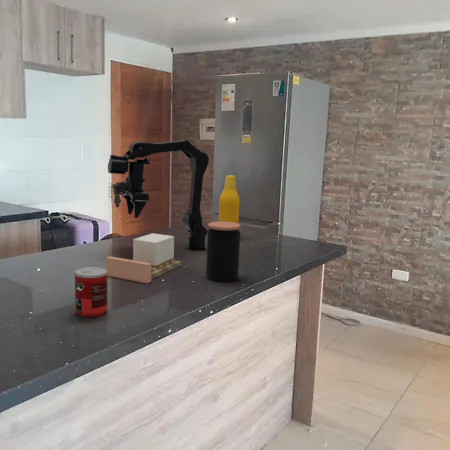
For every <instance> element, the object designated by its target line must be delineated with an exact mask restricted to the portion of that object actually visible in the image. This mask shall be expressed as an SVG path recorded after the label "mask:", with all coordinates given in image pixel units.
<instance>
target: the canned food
mask: <svg viewBox="0 0 450 450" xmlns="http://www.w3.org/2000/svg"><path fill="white" fill-rule="evenodd" d="M74 292H75V293H74V294H75V295H74V296H75V297H74V300H75V313H76V315H78V316H80V317H85V318H96V317H100V316H102V315H105V314H106V313H107V311H108V310H107V309H108V276H107V270H106V268H102V267H99V266H98V267H97V266H95V267H94V266H90V267H89V266H88V267H82V268H78V269H76V270H75V271H74Z"/></svg>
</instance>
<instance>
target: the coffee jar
mask: <svg viewBox="0 0 450 450" xmlns="http://www.w3.org/2000/svg"><path fill="white" fill-rule="evenodd" d="M241 226H242V225H241V224H240V223H238V224H237V223H233V222H219V221H212V222H209V223H208V224H207V227H208V229H207V231H208V232H207V241H206V242H207V244H206V270H205V271H206V276H207V278H208V279H209V280H211V281H214V282H220V283H222V282H226V283H227V282H233V281H235V280H236V279H237V278H238V276H239V268H240V267H239V265H240V246H241V245H240V244H241V232H240V229H241Z"/></svg>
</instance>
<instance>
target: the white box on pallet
mask: <svg viewBox="0 0 450 450" xmlns="http://www.w3.org/2000/svg"><path fill="white" fill-rule="evenodd" d="M132 241H133V243H132V246H133V247H132V250H133V251H132V252H133V253H132V260H134V261H140V262H146V263H151V265H152V266H157V265H159V264H162V263H164V262H166V261H168V260H171V259H173V260H174V257H175V254H174V253H175V236H174V235H166V234H159V233H152V232H151V233H149V234H146V235H142V236H139V237H137V238H133V239H132Z"/></svg>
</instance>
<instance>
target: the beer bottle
mask: <svg viewBox="0 0 450 450" xmlns="http://www.w3.org/2000/svg"><path fill="white" fill-rule="evenodd" d="M236 181H237V180H236V175H226V176H225V179H224V187H223V191H222V192H221V194H220V196H219V201H218V202H219V203H218V205H219V206H218V222H233V223H237V224H239V219H240V218H239V217H240V202H241V201H240V196H239V194H238V191H237V184H236Z"/></svg>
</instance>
